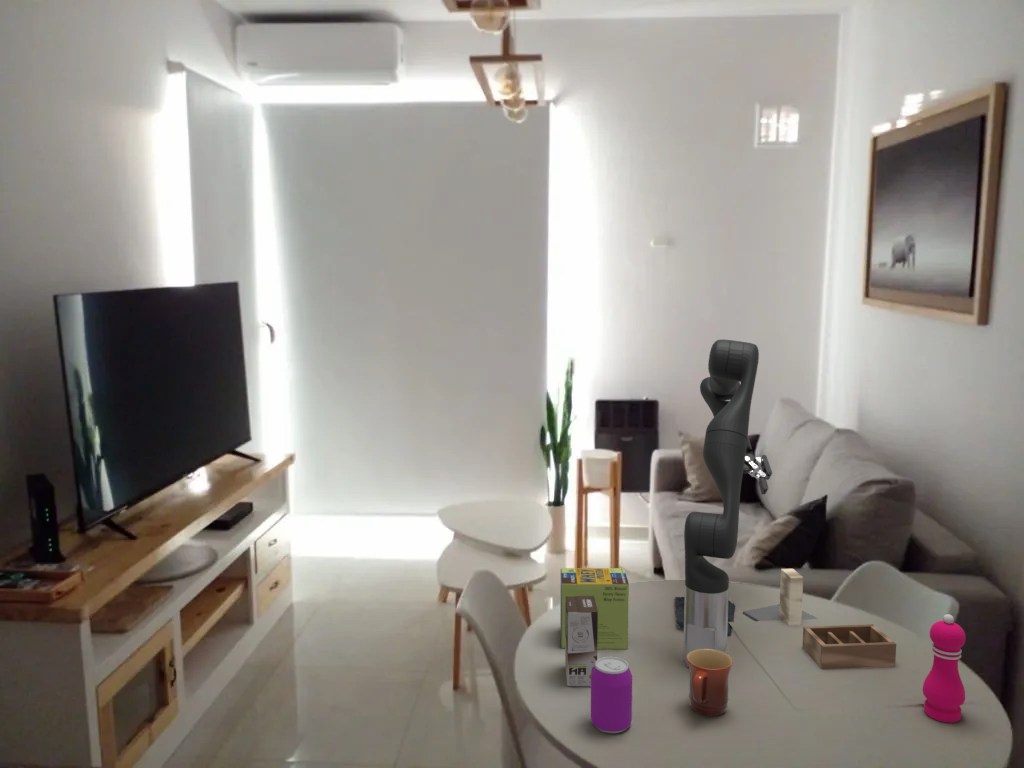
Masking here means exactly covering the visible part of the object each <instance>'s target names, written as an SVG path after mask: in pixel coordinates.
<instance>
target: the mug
mask: <svg viewBox="0 0 1024 768" xmlns="http://www.w3.org/2000/svg"><path fill="white" fill-rule="evenodd" d="M686 658H687V662H688V666H689V667H688V669H689V687H688V689H689V690H688V697H689V705H690V707H691V708H692V710H694V711H695V712H696V713H698V714H700V715H702V716H706V717H717V716H721V715H722V714H724V713H725V712H726V711H727V708H728V705H729V703H728V702H729V676H730V671H731V670H732V666H733V664H734V662H733V658H732V657H731V656H730V655H729V654H728V653H727V654H726V653H724V652H721V651H718V650H713V649H697V650H693V651H691V652H689V653H688V654H687V656H686Z"/></svg>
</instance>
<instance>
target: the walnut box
mask: <svg viewBox="0 0 1024 768" xmlns="http://www.w3.org/2000/svg"><path fill="white" fill-rule="evenodd" d="M802 630H803V631H802V646H801V647H802V649H803V650H804V652H805V653H806V654H807V655H808V656H809V657H810V658H811V659H812V660H813V661H814V662H815V664H816V665H818V667H820V669H821V670H833V669H834V670H835V669H836V670H837V669H838V670H839V669H859V668H860V669H861V668H863V669H866V668H887V667H888V668H891V667H893V668H894V667H896V661H897V660H896V658H897V657H896V656H897V643H896V642H894V640H893V639H891V638H890V637H889V636H887V635H886V634H885V633H883V632H882V631H881V630H880V629H879V628H878V627H877V626H875V625H874V624H872V623H871V624H867V623H866V624H846V625H845V624H844V625H838V624H837V625H811V626H810V625H807V626H803V627H802Z"/></svg>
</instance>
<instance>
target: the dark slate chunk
mask: <svg viewBox="0 0 1024 768" xmlns="http://www.w3.org/2000/svg"><path fill="white" fill-rule="evenodd" d="M684 606H685V596H675V598H674V614H675V617H676V618H675V619H676V620H675V622H676V625H677V626H678V627H679V628H680V629H683V630H684ZM735 609H736V605H735V603H734V602H731V601H730V599H728V628H727V637H730V636H732V633H733V631H732V629H733V626H732V624H730V623H734V620H735V611H736V610H735Z"/></svg>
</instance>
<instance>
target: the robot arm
mask: <svg viewBox="0 0 1024 768" xmlns="http://www.w3.org/2000/svg"><path fill="white" fill-rule="evenodd" d="M759 351H760V350H759V348H758V345H757V344H755V343H752V342H745V341H740V340H732V339H731V340H730V339H717V340H715V341H714V342H713V344H712V345H711V347H710V351H709V355H708V356H709V357H708V365H707V369H708V373H709V376H707V377H705V378H703V379H702V380H701V382H700V383H699V384H700V385H699V391H700V395H701V396H702V399H703V400H704V402H705V403H706V405H707V406H708V408H709V409H710V411H711V414H712V415H713V418H712V419H711V420H710V422H709V423H708V425H707V427H706V429H705V437H704V441H703V451H702V457H703V460H704V464H705V465H706V468H707V470H708V472H709V473H710V476H711V477H712V479H713V481H714V483H715V485H716V487H717V490H718V492H719V494H720V498H721V501H722V505H723V510H722V511H723V513H712V512H711V513H710V512H701V511H691V512H690V513H689V514H687V517H686V519H685V523H684V529H683V530H684V531H683V532H684V534H683V535H684V538H683V539H684V540H683V541H684V597H685V606H684V629H683V662H684V661H685V662H684V663H685V667H686V666H687V667H686V668H689V666H688V662H687V658H686V656H687V654H688V653H689V652H691V651H693V650H697V649H713V650H718V651H721V652H724V653H726V654H727V655H728V636H727V628H728V600H729V594H730V586H729V585H730V577H729V575H728V573H727V572H726V571H725V570H723V569H721V567H720V568H719V567H718V566H716V565H714V564H712V563H711V562H710V561H708V560H707V558H705V557H709V558H717V559H723V560H724V559H725V560H729V559H731V558H732V557H734V554H735V552H736V550H737V546H738V545H737V544H738V535H739V534H738V533H739V521H740V505H741V502H740V501H741V489H742V482H743V476H744V475H747V474H749V475H750V476H751V477H752V478H755V479H756V480H757V481H758V486H759V489H760V493H761V495H766V494H767V492H768V490H769V485H768V482H767V481H770V479H771V477H772V475H773V471H772V467H771V466H770V462H769V460H768V457H767V455H766V454H762V455H761V456H755V455H754V452H753V450H752V449H753V448H752V445H751V441H750V438H749V425H750V414H751V406H752V399H753V394H754V388H755V383H756V379H757V378H756V377H757V373H758V367H759V366H758V365H759V360H760V359H759V358H760V356H759V355H760V353H759ZM756 463H757V464H756ZM760 467H761V468H760Z"/></svg>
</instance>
